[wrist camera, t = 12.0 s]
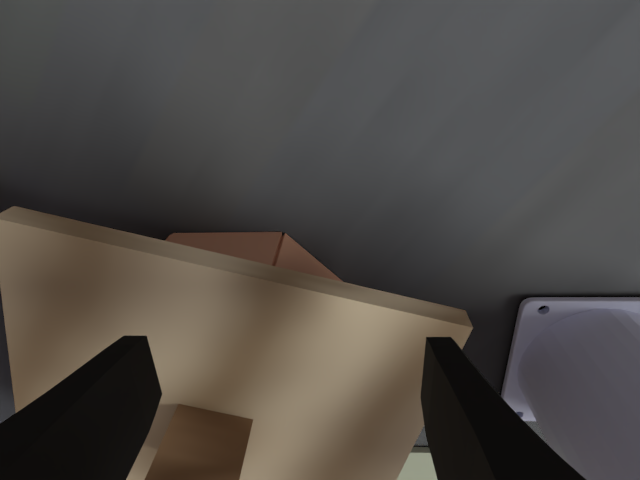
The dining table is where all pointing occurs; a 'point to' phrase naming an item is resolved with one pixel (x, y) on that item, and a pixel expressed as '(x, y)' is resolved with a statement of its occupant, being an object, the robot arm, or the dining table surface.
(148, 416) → the robot arm
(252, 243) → the bowl
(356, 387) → the cover board
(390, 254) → the dining table surface
